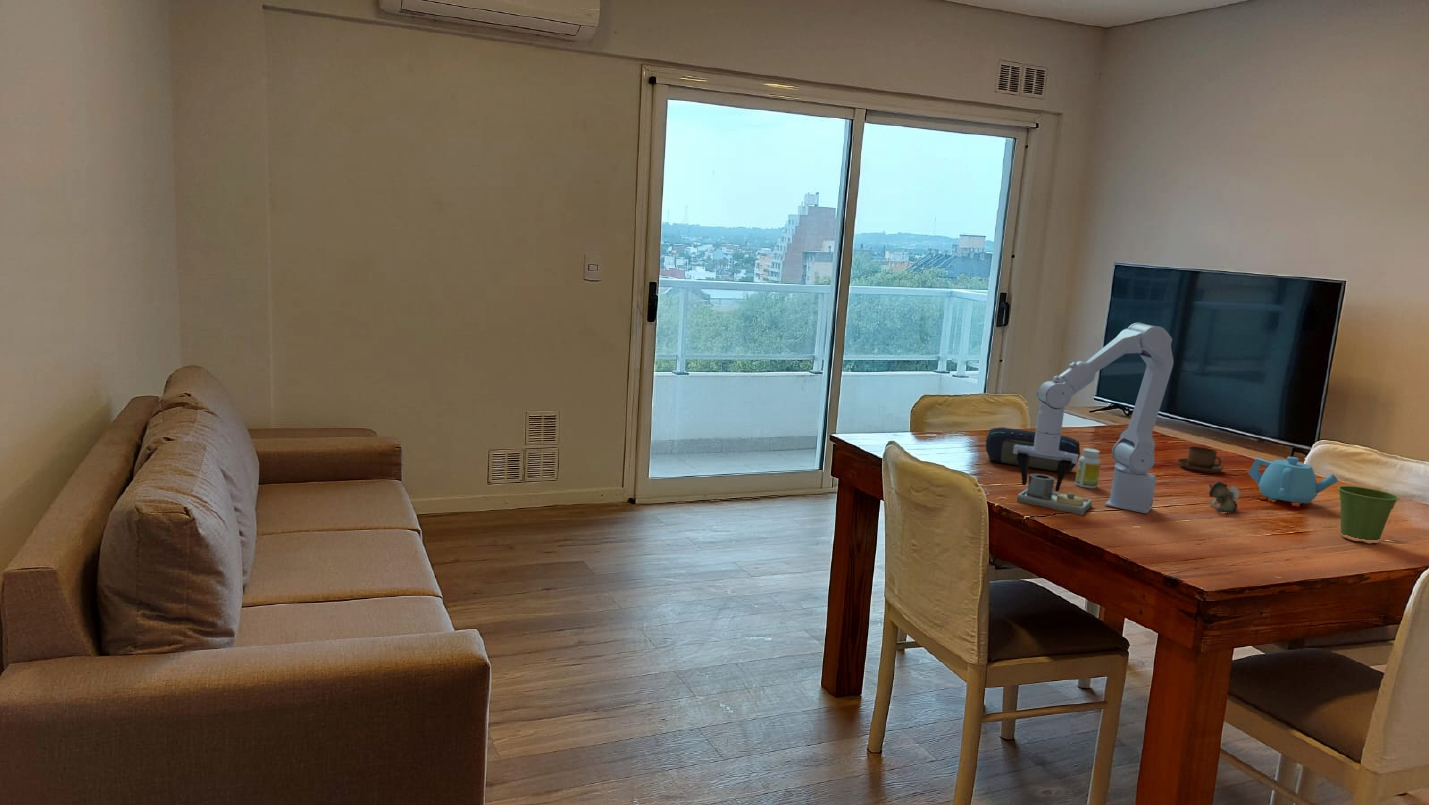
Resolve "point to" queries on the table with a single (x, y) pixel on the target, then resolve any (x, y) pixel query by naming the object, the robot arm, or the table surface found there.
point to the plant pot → (1364, 511)
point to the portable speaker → (1005, 439)
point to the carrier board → (1059, 502)
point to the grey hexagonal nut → (1041, 486)
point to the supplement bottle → (1088, 469)
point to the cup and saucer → (1201, 460)
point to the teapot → (1289, 480)
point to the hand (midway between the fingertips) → (1040, 487)
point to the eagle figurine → (1224, 497)
